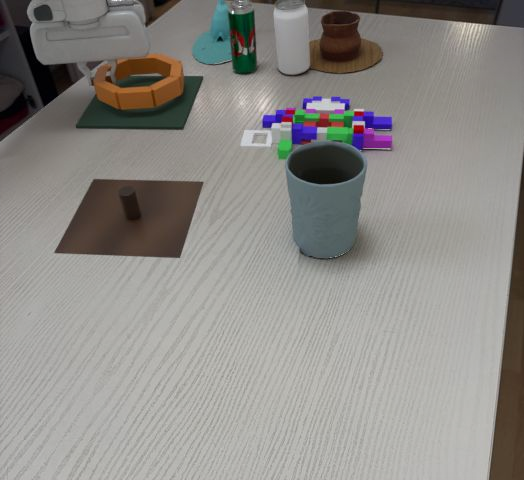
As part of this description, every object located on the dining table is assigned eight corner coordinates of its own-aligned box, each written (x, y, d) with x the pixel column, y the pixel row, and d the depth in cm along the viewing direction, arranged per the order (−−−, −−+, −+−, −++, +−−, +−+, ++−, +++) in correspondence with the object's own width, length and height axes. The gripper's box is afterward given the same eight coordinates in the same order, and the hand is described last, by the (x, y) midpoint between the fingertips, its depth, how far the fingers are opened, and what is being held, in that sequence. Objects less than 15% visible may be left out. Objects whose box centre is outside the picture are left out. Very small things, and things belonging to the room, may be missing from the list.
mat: (76, 128, 99) (75, 125, 99) (107, 78, 111) (107, 75, 111) (183, 129, 97) (182, 126, 96) (203, 78, 109) (202, 75, 109)
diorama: (184, 65, 114) (177, 19, 107) (202, 27, 126) (196, -16, 120) (241, 65, 112) (238, 19, 106) (253, 26, 125) (251, -17, 118)
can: (276, 63, 112) (270, -2, 102) (307, 57, 112) (304, -8, 102) (280, 78, 108) (274, 12, 98) (312, 72, 108) (310, 6, 98)
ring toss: (55, 257, 76) (42, 228, 72) (94, 183, 87) (85, 154, 83) (180, 262, 74) (174, 233, 70) (204, 185, 85) (200, 156, 82)
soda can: (253, 62, 113) (249, -4, 104) (260, 72, 110) (257, 5, 101) (229, 66, 112) (223, 1, 103) (236, 76, 109) (231, 10, 100)
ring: (93, 111, 98) (88, 95, 96) (105, 72, 108) (101, 56, 106) (181, 106, 98) (179, 89, 96) (185, 67, 108) (183, 51, 106)
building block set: (390, 103, 99) (393, 78, 96) (392, 166, 86) (396, 140, 83) (254, 101, 102) (253, 76, 99) (237, 161, 89) (235, 136, 86)
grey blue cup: (348, 269, 72) (356, 191, 62) (276, 254, 74) (273, 177, 65) (366, 223, 77) (376, 145, 68) (299, 211, 80) (299, 134, 71)
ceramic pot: (280, 61, 112) (279, 24, 107) (324, 31, 121) (325, -5, 116) (357, 81, 105) (360, 42, 100) (398, 47, 114) (403, 9, 109)
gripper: (143, -11, 93) (159, 72, 104) (25, -2, 94) (53, 80, 104) (140, 3, 89) (156, 87, 100) (16, 12, 90) (46, 95, 100)
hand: (103, 83), depth 102 cm, fingers closed on ring, 2 cm apart
